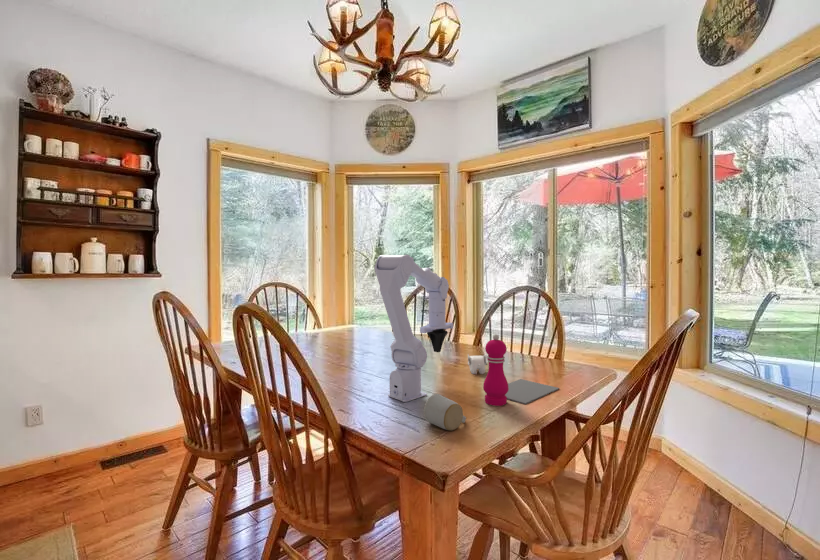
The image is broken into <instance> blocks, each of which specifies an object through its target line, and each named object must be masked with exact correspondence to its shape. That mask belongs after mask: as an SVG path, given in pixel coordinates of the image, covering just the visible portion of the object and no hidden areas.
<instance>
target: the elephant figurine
mask: <svg viewBox="0 0 820 560" xmlns="http://www.w3.org/2000/svg"><path fill="white" fill-rule="evenodd" d="M487 356H488V354H487V353H484V355H469V353H467V365H468V366H469V367H468V368H469V371H470V372H471V374H472V375H477V374H478V372H479V374H480V375H484V374H486V366H487V365H488V364H489V362H488V361H487V359H488V358H487Z"/></svg>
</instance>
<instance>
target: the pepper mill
mask: <svg viewBox="0 0 820 560" xmlns="http://www.w3.org/2000/svg"><path fill="white" fill-rule="evenodd" d="M484 350H485V354H487V358H488V359H487V361H488V370H487V374H486V376H485V379H484V381H483V385H482V388H483V392H484V393H485V395H484V403H486V404H487V405H488V406H493V407H503V406H505V405H506V404H507V403H508V402H507V401H508V399H507V397H506V396H505V394H506V393H507V392H508V390H509V388H508V383H509V382H508V380H507V378H506V375H505V371H504V363H505V359H506V358H505V355H506V353H507V345H506V343H505V342H504V341H503V340H501V339H500V336H499V334H497V333H495V334H494V335H493V336H492V339H490V340H488V341H487V343H486V344H485V349H484Z"/></svg>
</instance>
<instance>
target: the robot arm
mask: <svg viewBox="0 0 820 560" xmlns="http://www.w3.org/2000/svg"><path fill="white" fill-rule="evenodd" d="M373 270H374V272H375V276H376V279H377V281H378V285H379V291H380V295H381V297H382V301H383V304H384V307H385V312H386V313H387V317H388V319H389V324H390V326H391V329H392V332H393V336H394V340H392V342H391V345H390V350H391V359H392V362H393V363H394V364H395V367H396V368H395V369H394V370H392V371H391V372H390V374H389V393H388V394H387V396H388V397H390V398H393V399H395V400H397V401H400V402H404V403H407V402H410V401H412V400H416V399H419V398H423V397H425V396H428V393H426V392H423V391H422V368H423V367H424V365H425V364H426V362H427V360H428V353H427V350H426V348H425V346H424V345H423V343H422V341H421V340H420V339H419V338H417V337H416V336H414V334H413V330H412V327H411V324H410V321H409V317H408V313H407V311H406V306H405V302H404V299H403V296H402V293H401V289H402V288H404V287H405V286H406V284H407V283H408V281H409V279H410V277H413V278H415V281H416V283H417V284H418V285H420V286H421V287H423V288H424V290H425V292H426V293H427V294H428V323H427V324H426V325H423V326H420V327H419V333H420V334H427V337H428V338H429V340H430V342H431V346H432V350H433V352H434V353H440V352H441V351H442V348H443V344H444V340H445V338H446V337H447V335H448V329H450V330H451V329H454V322H447V321H446V300H447V297H448V292H449V287H450V284H449V282H448V281H449V280H448V279H447V278H446V277H444V276H439V275H438V273H435V272H433V270H431V268H430V267H420V266H419V264H418V263H416V262H415V259H414V257H412V256H410V254H397V255H396V254H395V255H393V254H391V255H389V254H381V255H379V256H378V257H377V260H376V262H375V264H374V268H373Z"/></svg>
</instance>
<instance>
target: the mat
mask: <svg viewBox="0 0 820 560" xmlns="http://www.w3.org/2000/svg"><path fill="white" fill-rule="evenodd" d="M508 388H509V390H508V392H507V393H506V394H505V396H506V397H507V401H512V402H515V403H518V404H522V405H528V404H530V403H532V402H534V401H536V400H538V399H541V398H543V397H546V396H548V395H549V393H550V394H552V393H554V392H557V391H559V390H560V387H557V386H552V385H548V384H544V383H539V382H537V381H536V382H535V381H531V380H527V379H524V378H523V379H522V378H519V379H516V380H514V381H511V382H508ZM558 389H559V390H558ZM551 392H552V393H551ZM547 394H548V395H547Z"/></svg>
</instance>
